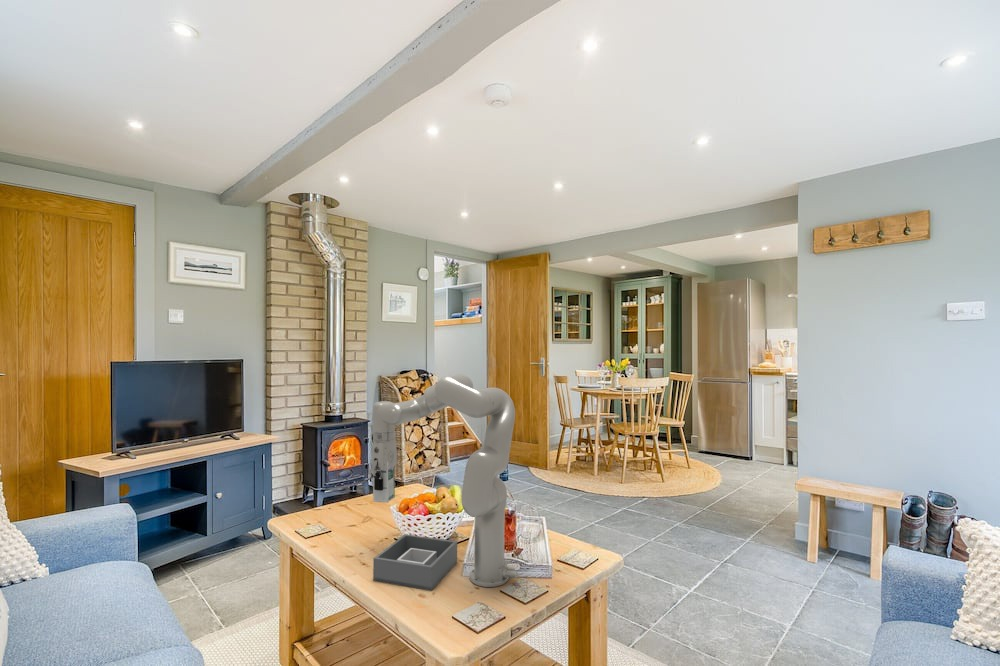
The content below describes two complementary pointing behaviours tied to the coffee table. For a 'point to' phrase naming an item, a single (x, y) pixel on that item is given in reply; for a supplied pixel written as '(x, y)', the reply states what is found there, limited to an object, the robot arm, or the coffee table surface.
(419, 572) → the walled box
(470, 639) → the coffee table surface
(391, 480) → the syrup box
